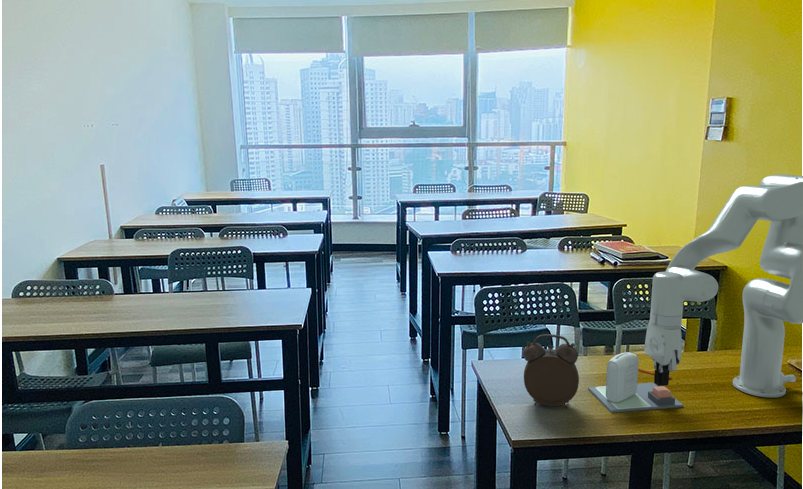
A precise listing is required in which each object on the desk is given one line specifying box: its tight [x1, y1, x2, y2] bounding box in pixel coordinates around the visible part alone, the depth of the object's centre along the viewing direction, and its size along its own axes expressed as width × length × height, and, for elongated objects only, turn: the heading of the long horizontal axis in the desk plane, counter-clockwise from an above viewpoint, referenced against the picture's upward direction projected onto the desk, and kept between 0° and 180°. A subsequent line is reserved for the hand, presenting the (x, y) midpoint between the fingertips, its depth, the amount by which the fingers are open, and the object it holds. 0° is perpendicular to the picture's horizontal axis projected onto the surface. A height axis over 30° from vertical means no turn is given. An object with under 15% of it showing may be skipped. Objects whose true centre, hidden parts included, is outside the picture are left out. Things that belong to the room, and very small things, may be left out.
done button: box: [653, 386, 672, 398], centre depth 148 cm, size 3×3×2 cm
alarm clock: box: [522, 333, 580, 409], centre depth 148 cm, size 14×7×20 cm, turn 74°
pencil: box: [638, 367, 673, 381], centre depth 169 cm, size 1×19×1 cm, turn 43°
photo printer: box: [605, 351, 639, 402], centre depth 150 cm, size 10×4×12 cm, turn 124°
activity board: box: [587, 382, 684, 413], centre depth 151 cm, size 20×14×2 cm
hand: (661, 384), depth 147 cm, fingers closed
